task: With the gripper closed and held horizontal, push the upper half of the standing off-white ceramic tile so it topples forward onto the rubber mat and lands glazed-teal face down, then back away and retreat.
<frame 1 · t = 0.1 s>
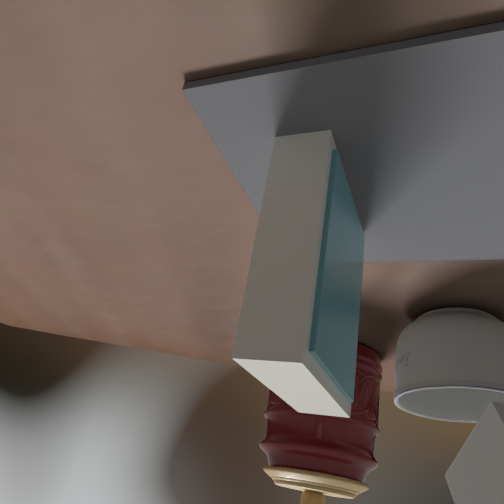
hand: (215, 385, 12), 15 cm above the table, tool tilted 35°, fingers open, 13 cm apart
teacup: (462, 324, 44), on the table
tile: (324, 190, 29), resting on mat
canister: (327, 350, 58), on the table
mat: (431, 175, 26), on the table
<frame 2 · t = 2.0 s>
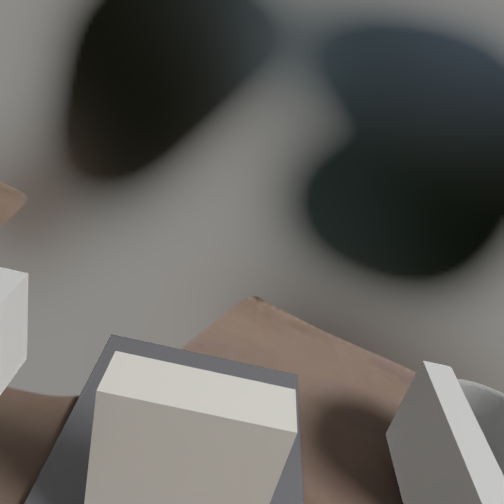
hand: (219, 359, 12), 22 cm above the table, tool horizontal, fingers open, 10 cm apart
teacup: (464, 497, 38), on the table
mat: (183, 455, 36), on the table
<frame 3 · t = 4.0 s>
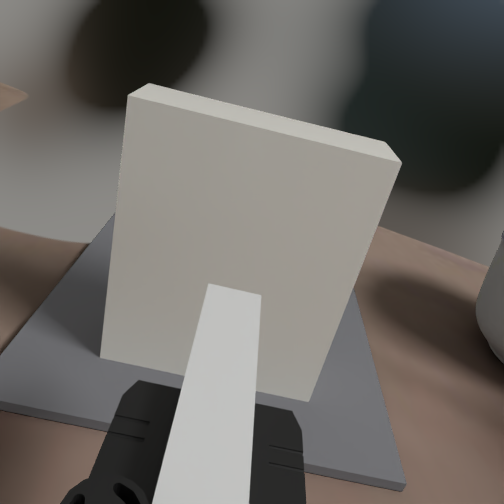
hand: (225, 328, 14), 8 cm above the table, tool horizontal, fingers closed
tile: (209, 359, 24), resting on mat
mat: (220, 301, 29), on the table
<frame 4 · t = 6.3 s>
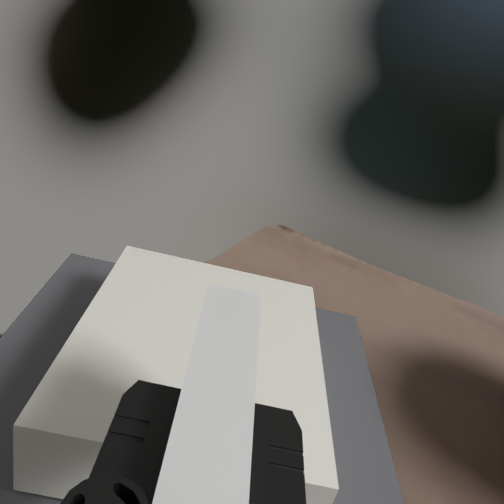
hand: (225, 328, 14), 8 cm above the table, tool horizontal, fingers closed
tile: (172, 489, 15), point 2 cm above the table, tilted 90°, touching mat
mat: (184, 431, 20), on the table
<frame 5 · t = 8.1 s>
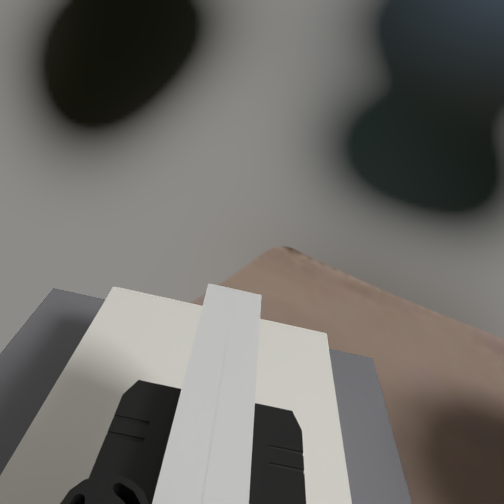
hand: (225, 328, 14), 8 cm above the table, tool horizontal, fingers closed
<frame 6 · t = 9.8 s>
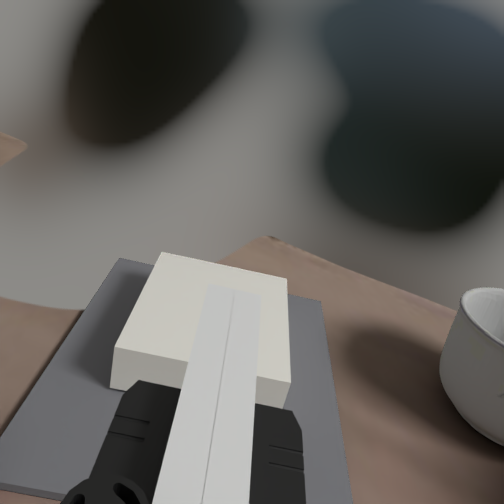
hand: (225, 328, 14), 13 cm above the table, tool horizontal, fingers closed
tile: (199, 385, 27), point 2 cm above the table, tilted 90°, touching mat
mat: (202, 366, 32), on the table
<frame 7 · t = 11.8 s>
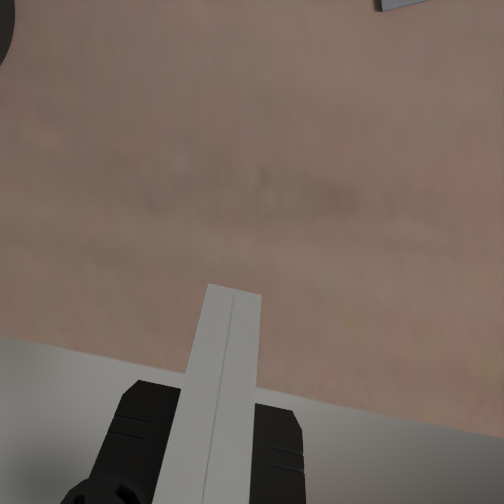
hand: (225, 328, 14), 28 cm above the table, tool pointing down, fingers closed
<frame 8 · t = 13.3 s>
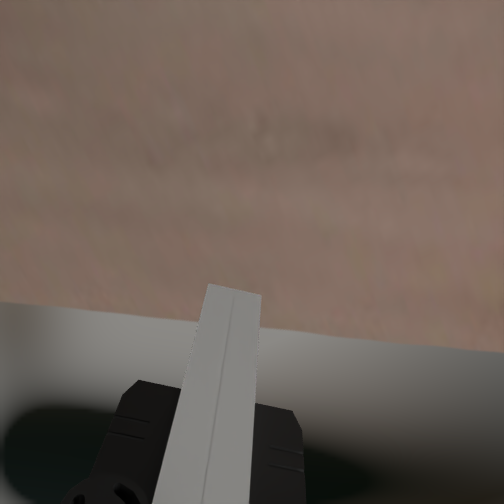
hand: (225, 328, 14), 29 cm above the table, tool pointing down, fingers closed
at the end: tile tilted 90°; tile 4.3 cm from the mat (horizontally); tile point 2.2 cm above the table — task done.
